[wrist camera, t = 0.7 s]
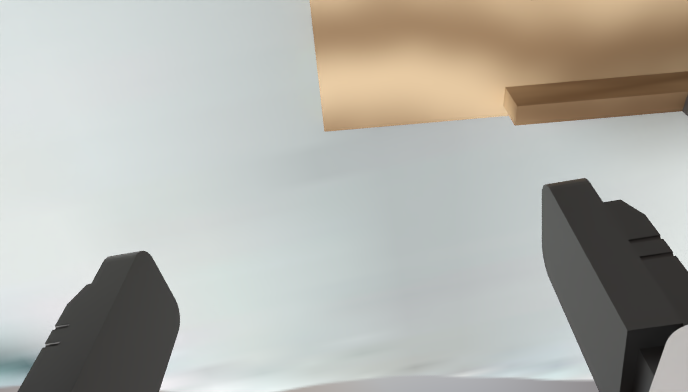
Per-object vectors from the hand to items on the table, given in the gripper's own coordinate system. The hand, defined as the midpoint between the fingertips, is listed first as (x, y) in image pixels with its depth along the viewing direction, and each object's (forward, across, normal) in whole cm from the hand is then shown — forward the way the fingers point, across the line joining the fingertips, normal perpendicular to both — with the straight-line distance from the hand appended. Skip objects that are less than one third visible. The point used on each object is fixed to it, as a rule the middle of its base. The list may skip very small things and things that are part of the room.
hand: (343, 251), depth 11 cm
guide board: (+17, -9, +3) cm, 20 cm away
